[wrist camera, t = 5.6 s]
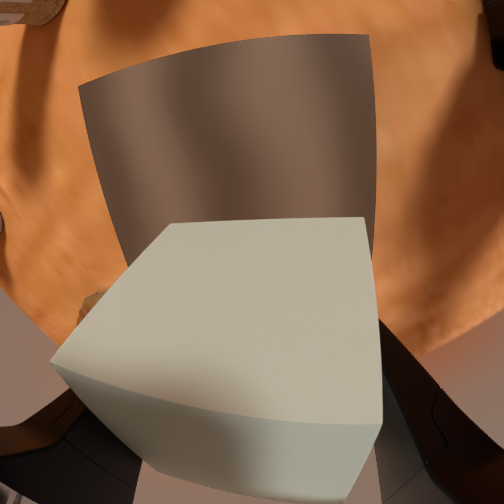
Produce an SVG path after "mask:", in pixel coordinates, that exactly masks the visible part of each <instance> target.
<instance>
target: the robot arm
mask: <svg viewBox="0 0 504 504" xmlns="http://www.w3.org/2000/svg"><path fill="white" fill-rule="evenodd" d="M484 2H485V7H486V12H487V18H488V24H489V30H490V37H491V44H492V54H493V63H494V66H495V67H496V68H497V69H498V70H501V71H504V0H484ZM499 60H500V61H501V65H500V63H499ZM378 322H379V334H380V348H381V366H382V399H383V424H382V426H381V429H380V431H379V433H378V436H377V438H376V440H375V442H374V447H375V454H376V461H377V468H378V475H379V483H380V491H381V500H382V504H504V449H503V448H502V447H500V446H499V445H498V444H497V443H495V442H494V441H493V440H492V439H491V438H490V437H489V436H488V435H487V434H486V433H485V432H484V431H483V430H481V429H480V428H479V427H478V426H477V425H476V424H475V423H474V422H473V421H472V420H471V419H470V418H469V417H468V416H467V415H466V414H465V413H464V412H463V411H462V410H461V409H460V408H459V407H458V406H457V405H456V404H455V403H454V402H453V401H452V399H451V398H450V397H449V396H448V395H447V394H446V393H445V391H443V389H442V388H440V386H439V385H438V384H437V382H436V381H435V380H434V379H433V378H432V377H431V375H430V374H429V373H428V372H427V371H426V370H425V369H424V367H423V366H422V365H421V364H420V363H419V362H418V361H417V360H416V358H415V357H414V356H413V355H412V354H411V353H410V352H409V351H408V350H407V348H406V347H405V346H404V345H403V344H402V343H401V342H400V341H399V340H398V339H397V337H396V336H395V335H394V334H393V333H392V332H391V331H390V330H389V329H388V328H387V327H386V325H385V324H384V323H383V322H382V321H381V320H380V319H379V318H378ZM142 460H143V459H141V458H140V457H139V456H138V455H137V454H136V453H134V452H133V451H132V450H131V449H130V448H129V447H128V446H127V445H125V444H124V443H123V442H122V441H121V440H120V439H119V438H118V437H117V436H116V435H115V434H114V433H113V432H111V431H110V430H109V429H108V428H107V427H106V426H105V425H104V424H103V423H102V422H101V421H100V420H99V419H98V418H97V417H96V415H95V414H94V413H93V412H92V411H91V410H90V409H89V408H88V407H87V406H86V405H85V404H84V403H83V402H82V400H81V399H80V398H79V397H78V396H77V395H76V394H75V393H74V391H73V390H72V389H71V388H69V389H68V390H67V391H65V392H64V393H63V394H61V395H60V396H59V397H58V398H56V399H55V400H54V401H52V402H51V403H49V404H48V405H47V406H45V407H44V408H42V409H41V410H40V411H38V412H37V413H35V414H34V415H32V416H31V417H30V418H28V419H27V420H25V421H24V422H22V423H20V424H17V425H14V426H6V427H0V504H133V500H134V495H135V491H136V485H137V481H138V477H139V473H140V469H141V465H142Z"/></svg>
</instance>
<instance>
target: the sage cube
mask: <svg viewBox="0 0 504 504" xmlns="http://www.w3.org/2000/svg"><path fill="white" fill-rule="evenodd" d="M49 362H50V363H51V365H52V366H53V367H54V368H55V369H56V371H57V372H58V373H59V375H60V376H61V377H62V378H63V380H64V381H65V382H66V383H67V384H68V385H69V387H70V388H71V389H72V390H73V391H74V393H75V394H76V395H77V396H78V397H79V398H80V399H81V400H82V402H83V403H84V404H85V405H86V406H87V407H88V408H89V409H90V410H91V411H92V412H93V413H94V414H95V415H96V417H97V418H98V419H99V420H100V421H101V422H102V423H103V424H104V425H105V426H106V427H107V428H108V429H109V430H110V431H111V432H113V433H114V434H115V435H116V436H117V437H118V438H119V439H120V440H121V441H122V442H123V443H124V444H125V445H127V446H128V447H129V448H130V449H131V450H132V451H133V452H134V453H136V454H137V455H138V456H139V457H140V458H141V459H143V460H144V461H145V462H146V463H147V464H149V465H150V466H151V467H152V468H154V469H155V470H156V471H158V472H160V473H163V474H166V475H169V476H172V477H175V478H179V479H182V480H185V481H189V482H192V483H196V484H199V485H203V486H206V487H210V488H214V489H218V490H223V491H227V492H232V493H236V494H241V495H246V496H252V497H258V498H264V499H271V500H278V501H286V502H295V503H305V504H343V502H344V500H345V499H346V497H347V495H348V493H349V492H350V490H351V488H352V486H353V484H354V483H355V481H356V479H357V477H358V475H359V473H360V471H361V469H362V467H363V465H364V463H365V461H366V459H367V457H368V455H369V453H370V451H371V449H372V447H373V444H374V442H375V440H376V438H377V436H378V433H379V431H380V429H381V426H382V424H383V399H382V366H381V348H380V334H379V322H378V311H377V302H376V293H375V284H374V277H373V269H372V262H371V255H370V249H369V243H368V237H367V231H366V225H365V220H364V217H331V218H288V219H257V220H232V221H210V222H191V223H173V224H169V225H168V226H167V227H166V228H165V230H164V231H163V232H162V233H161V234H160V235H159V236H158V237H157V238H156V239H155V240H154V241H153V242H152V243H151V244H150V245H149V246H148V247H147V248H146V249H145V250H144V251H143V252H142V253H141V255H140V256H139V257H138V258H137V259H136V260H135V261H134V262H133V263H132V264H131V265H130V266H129V267H128V269H127V270H126V271H125V272H124V273H123V274H122V275H121V276H120V277H119V278H118V280H117V281H116V282H115V283H114V284H113V285H112V286H111V287H110V289H109V290H108V291H107V292H106V293H105V294H104V295H103V297H102V298H101V299H100V300H99V301H98V302H97V303H96V305H95V306H94V307H93V308H92V309H91V310H90V312H89V313H88V314H87V315H86V316H85V318H84V319H83V320H82V321H81V322H80V324H79V325H78V326H77V327H76V328H75V330H74V331H73V332H72V333H71V335H70V336H69V337H68V338H67V339H66V341H65V342H64V343H63V345H62V346H61V347H60V348H59V350H58V351H57V352H56V353H55V355H54V356H53V357H52V359H51V360H50V361H49Z"/></svg>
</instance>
